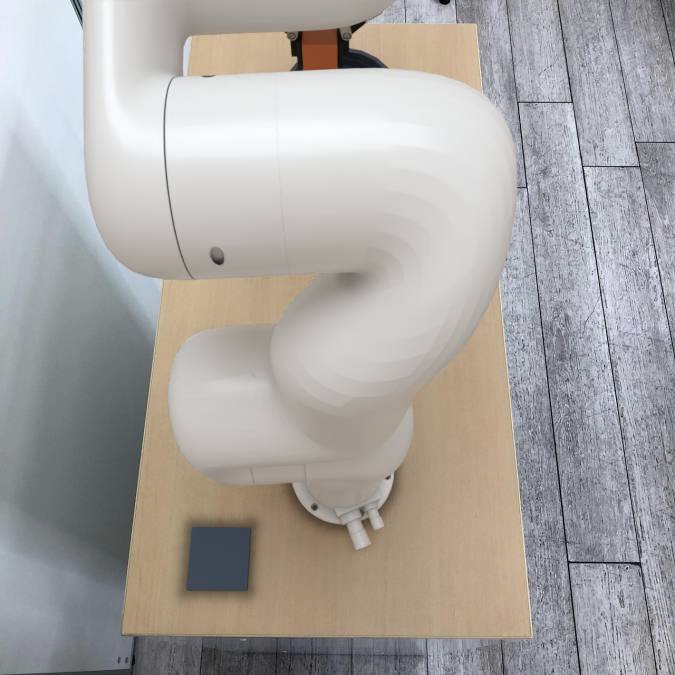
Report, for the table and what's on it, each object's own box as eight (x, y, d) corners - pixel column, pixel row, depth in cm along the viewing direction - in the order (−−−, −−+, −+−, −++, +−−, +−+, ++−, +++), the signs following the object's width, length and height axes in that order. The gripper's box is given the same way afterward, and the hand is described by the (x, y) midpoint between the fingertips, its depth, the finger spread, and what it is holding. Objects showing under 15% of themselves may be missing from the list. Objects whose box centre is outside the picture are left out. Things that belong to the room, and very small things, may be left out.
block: (337, 46, 76) (337, 18, 72) (337, 72, 74) (337, 45, 71) (304, 46, 76) (302, 18, 72) (303, 72, 74) (301, 45, 71)
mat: (247, 590, 73) (246, 590, 73) (187, 589, 73) (186, 590, 73) (250, 527, 75) (250, 527, 75) (192, 527, 75) (191, 526, 75)
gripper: (221, -68, 57) (248, 83, 74) (407, -68, 57) (391, 83, 74) (227, -123, 59) (252, 35, 76) (404, -123, 59) (390, 35, 76)
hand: (320, 57), depth 75 cm, fingers closed on block, 4 cm apart
